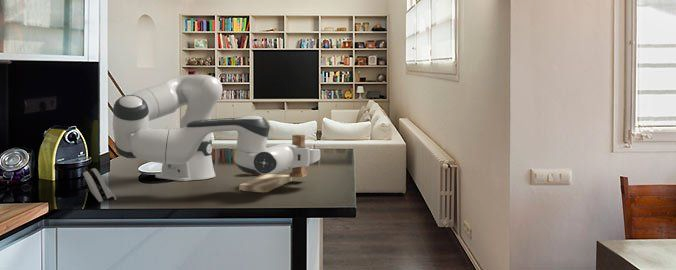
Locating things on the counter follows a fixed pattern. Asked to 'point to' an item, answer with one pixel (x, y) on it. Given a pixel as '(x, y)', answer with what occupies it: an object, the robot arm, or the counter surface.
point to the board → (265, 183)
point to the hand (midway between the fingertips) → (299, 151)
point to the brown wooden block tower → (300, 141)
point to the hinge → (97, 185)
